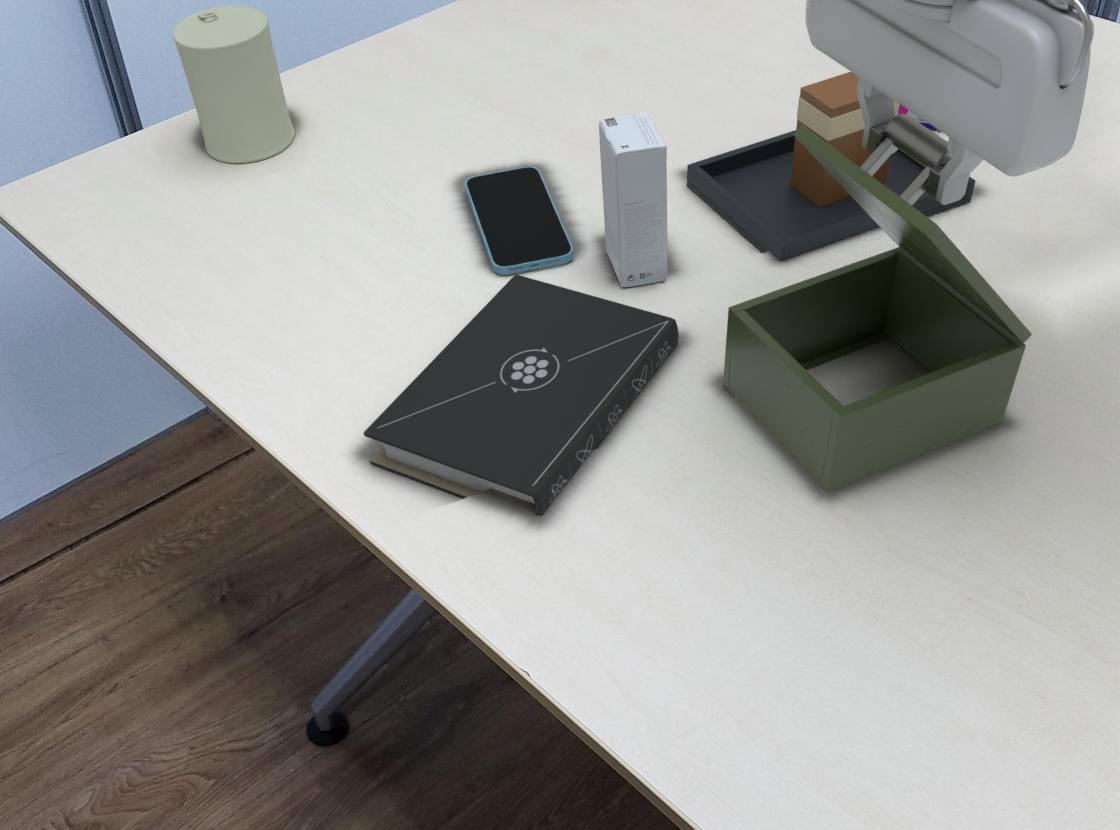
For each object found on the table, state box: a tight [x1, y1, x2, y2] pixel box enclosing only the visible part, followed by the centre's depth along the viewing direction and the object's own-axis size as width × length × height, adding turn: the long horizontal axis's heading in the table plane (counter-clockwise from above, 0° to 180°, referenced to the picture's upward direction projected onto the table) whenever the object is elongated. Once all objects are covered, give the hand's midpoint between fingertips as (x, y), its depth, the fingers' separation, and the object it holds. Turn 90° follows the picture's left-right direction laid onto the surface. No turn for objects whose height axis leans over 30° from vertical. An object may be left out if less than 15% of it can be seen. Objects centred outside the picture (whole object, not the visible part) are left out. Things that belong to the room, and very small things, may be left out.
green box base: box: [722, 246, 1027, 493], centre depth 83 cm, size 15×14×8 cm
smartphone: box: [464, 166, 574, 276], centre depth 105 cm, size 7×1×15 cm
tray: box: [686, 129, 976, 262], centre depth 104 cm, size 20×16×2 cm
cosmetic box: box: [598, 111, 669, 288], centre depth 95 cm, size 6×4×12 cm
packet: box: [790, 71, 899, 207], centre depth 101 cm, size 7×5×9 cm, turn 115°
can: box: [172, 5, 296, 164], centre depth 115 cm, size 9×9×12 cm
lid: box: [794, 114, 1033, 344], centre depth 75 cm, size 16×14×5 cm
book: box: [363, 274, 680, 516], centre depth 88 cm, size 22×15×3 cm
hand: (910, 173), depth 72 cm, fingers closed on lid, 5 cm apart
